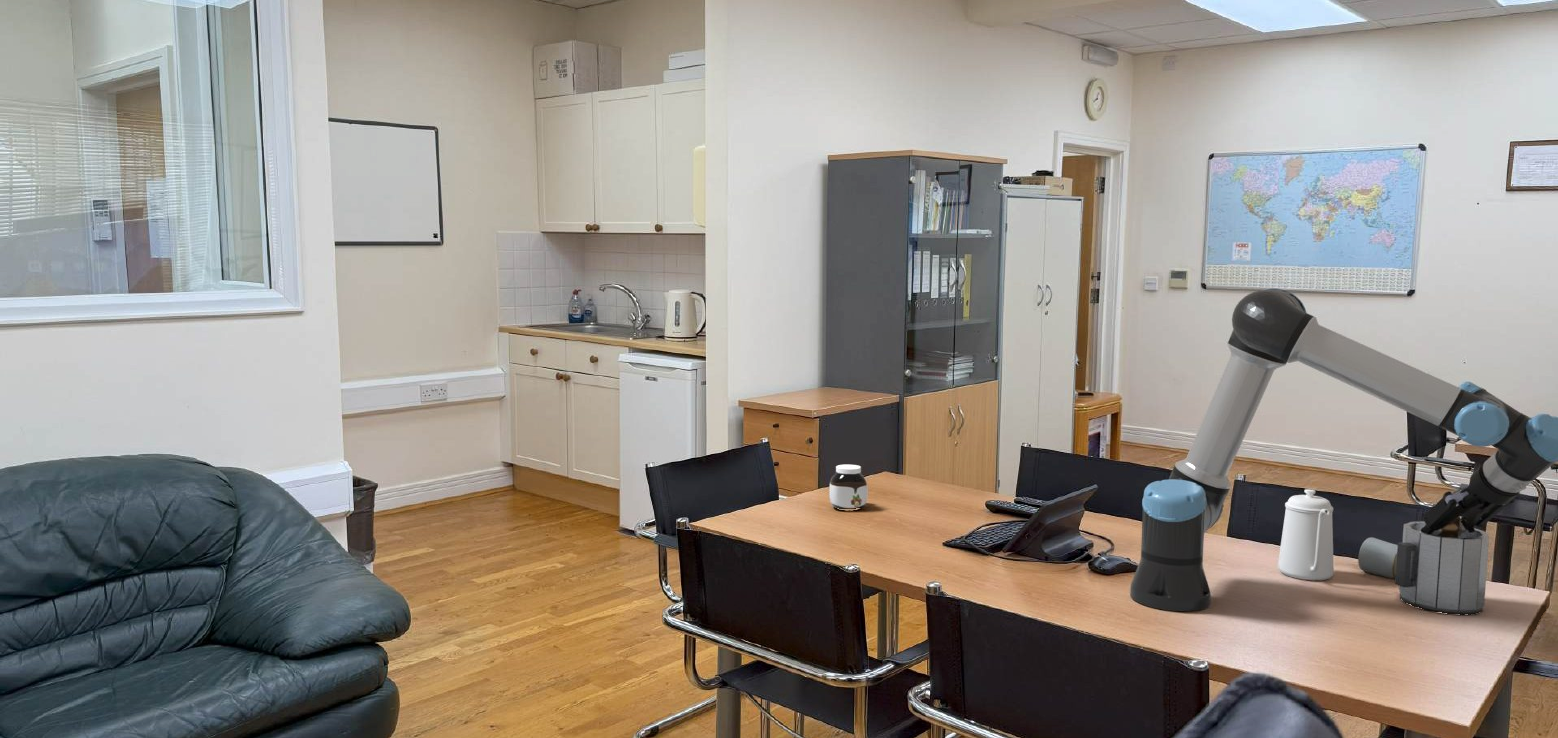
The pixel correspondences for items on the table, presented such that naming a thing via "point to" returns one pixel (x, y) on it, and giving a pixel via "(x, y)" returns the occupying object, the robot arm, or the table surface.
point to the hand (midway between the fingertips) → (1430, 541)
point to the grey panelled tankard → (1442, 570)
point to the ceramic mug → (1378, 557)
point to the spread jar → (848, 487)
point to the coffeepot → (1307, 538)
